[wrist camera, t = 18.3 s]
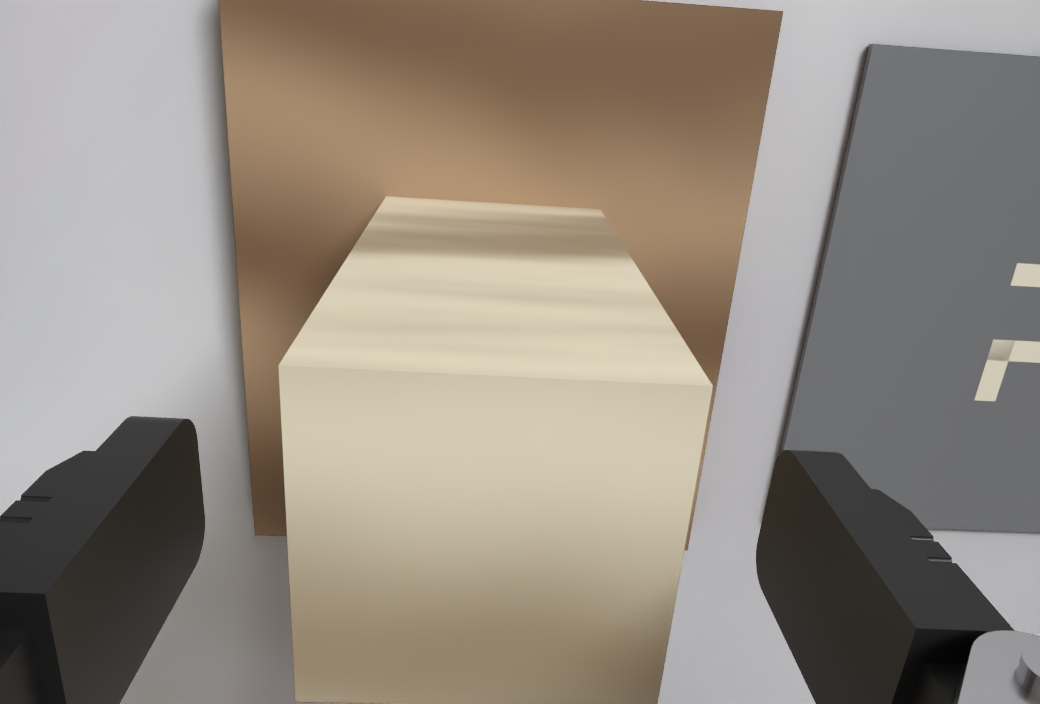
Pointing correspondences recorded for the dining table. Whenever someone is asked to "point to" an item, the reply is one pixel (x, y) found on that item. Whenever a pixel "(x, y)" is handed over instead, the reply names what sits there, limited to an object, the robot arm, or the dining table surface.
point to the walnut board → (484, 149)
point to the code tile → (933, 292)
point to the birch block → (487, 463)
